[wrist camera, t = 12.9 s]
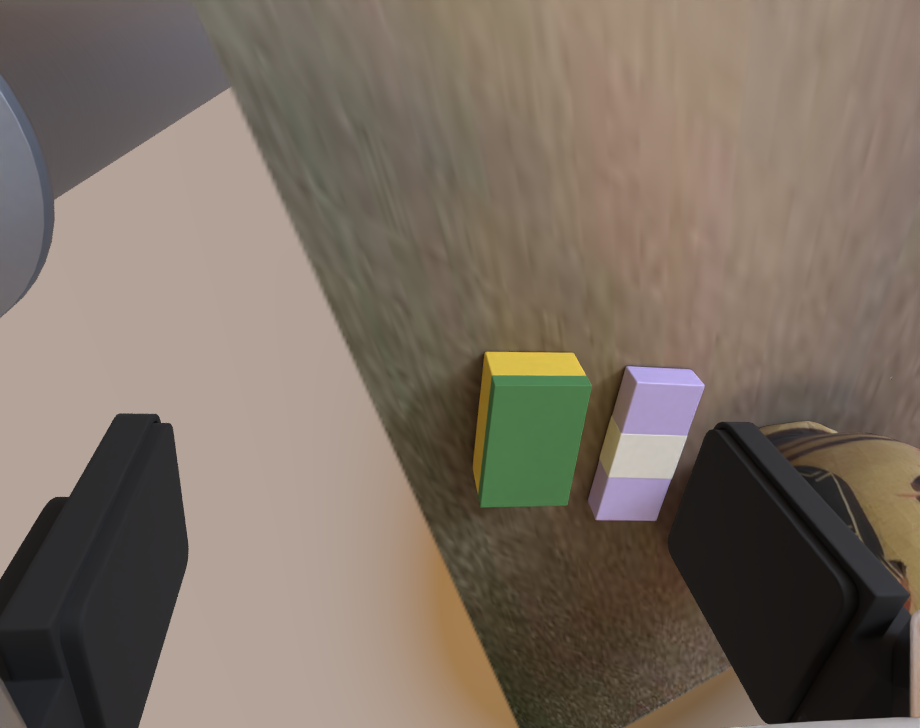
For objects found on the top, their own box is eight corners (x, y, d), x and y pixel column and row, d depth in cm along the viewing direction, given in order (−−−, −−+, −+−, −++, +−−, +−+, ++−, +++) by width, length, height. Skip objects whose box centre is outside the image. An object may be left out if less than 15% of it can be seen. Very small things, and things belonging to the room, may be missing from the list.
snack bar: (646, 501, 42) (656, 521, 40) (586, 500, 41) (595, 521, 39) (691, 368, 37) (706, 385, 35) (625, 365, 36) (636, 382, 34)
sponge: (484, 351, 35) (494, 385, 32) (573, 352, 35) (592, 385, 32) (472, 467, 39) (480, 507, 36) (552, 466, 39) (567, 506, 36)
